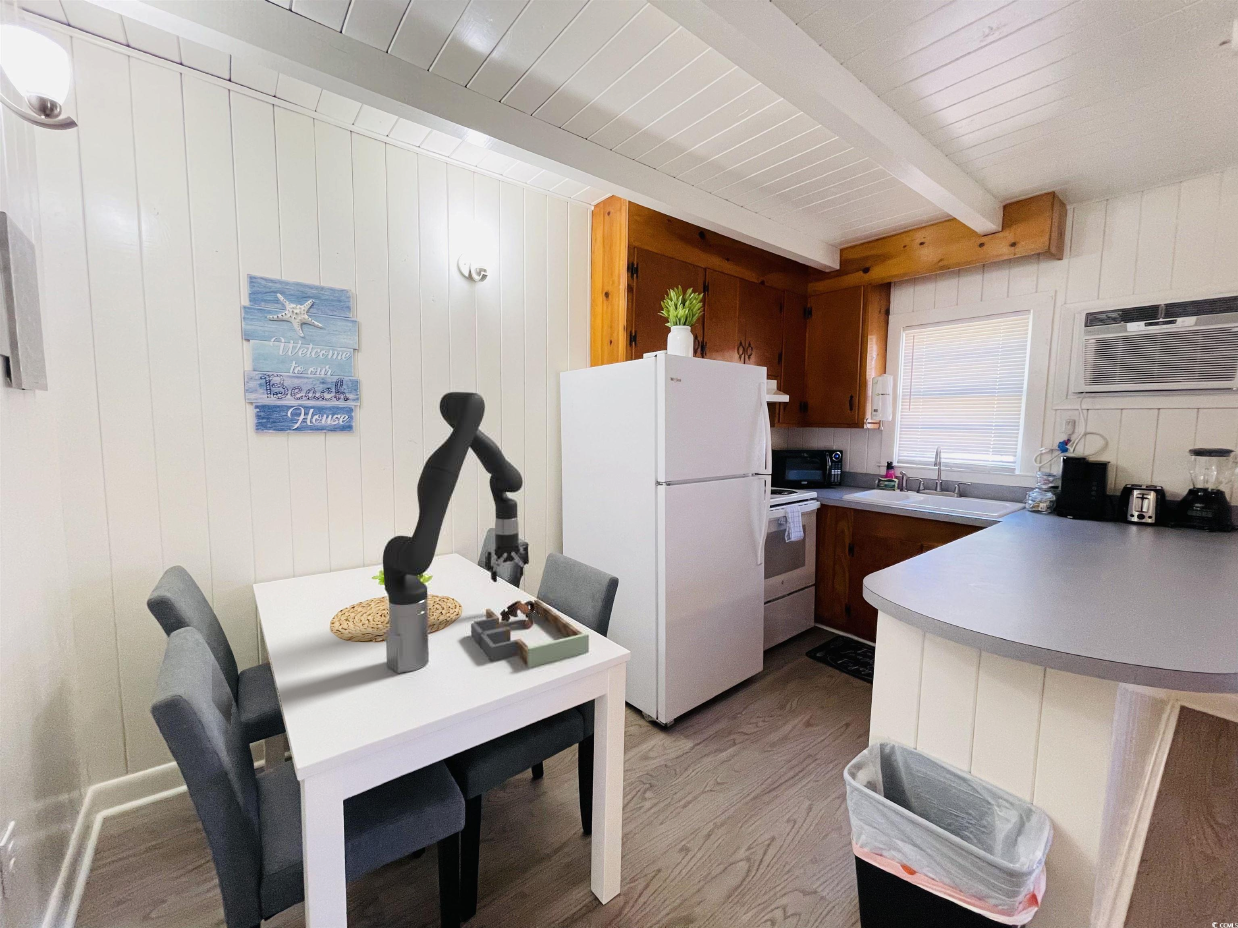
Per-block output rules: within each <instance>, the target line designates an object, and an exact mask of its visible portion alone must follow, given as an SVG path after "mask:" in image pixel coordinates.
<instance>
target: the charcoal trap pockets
mask: <svg viewBox="0 0 1238 928" xmlns="http://www.w3.org/2000/svg"><path fill="white" fill-rule="evenodd" d="M470 627H471V628H470V632H471V634H470V635H471V639H472V640H473V641H474V642H475V643H476V645H477V646H478V647H479V649H481V651H482V652H483V653H484V654H485V657H486V658H488V660H489V661H490V662H491V663H492V662H497V661H501V660H505V659H511V658H513V657H514V658H515V657H518V641H517V640H516V639H513V640H511V641H508V642H506V629H505V628H504V627H505V626H504V627H499V628H498V629H495V618H494V617H493V618H488V619H486V618H485V619H480V620H474V621H473V622H472V623H470Z"/></svg>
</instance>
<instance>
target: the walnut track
mask: <svg viewBox="0 0 1238 928" xmlns="http://www.w3.org/2000/svg"><path fill="white" fill-rule="evenodd" d="M533 602H534V604H535V612H536V613H537V614H538V615H537V614H536V613H535V612H534V613H535V614H536V615H537V616H539V615H540V616H539V617H540V618H541V617H542V618H543V619H544V620H543V619H542V618H541V619H542V620H543V621H544V622H546V623H547V622H548V623H549V624H548V623H547V624H548V625H549V626H550V627H552V628H553V629H554V630H555V631H557V632H558V633H559V634H561V635H562V637H564V638H568V637H572V636H576V635H580V634H584V633H583V632H582V631H581V630H579V629H578V628H577V627H575V626H574V625H572V624H571V623H569V621H567V620H565V619H564V618H563V617H562V616H560V615H559V614H557V613H556V612H555V611H554V610H552V609H551V608H549V607H548V606H547V605H546V604H544V603H543V602H542V601H540V600H539V599H535V600H534V601H533ZM493 617H494V618H495V629H498V628H500V617H499V616H498V615H497V614H496V613H495V612H494V611H493V610H492V609H491V608H486V609H485V619H488V618H493ZM504 628H505V629H506V642H508V641H512V640H511V628H510V627H509V626H504ZM515 640H517V641H518V656H517V657H518V658H519V659H521V661H522V662H523V663H524V665H525V666H527V647H529V645H527V644H526V643H525V642H524V641H523V640H522V639H521V638H518V639H517V638H516V639H515Z"/></svg>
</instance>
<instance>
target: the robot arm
mask: <svg viewBox="0 0 1238 928" xmlns="http://www.w3.org/2000/svg"><path fill="white" fill-rule="evenodd" d="M485 409H486V404H485V400H484V398H483V396H482V395H481V394H479V393H476V392H470V391H469V392H468V391H451V392H447V393H445V394H444V395H443V396H442V397H441V399H440V401H439V412H440V414H441V415H440V416H441V417H442V418H443V420H444V422H446V423H447V425H449V426H450V428H451V429H452V431H451V433H450V435H449V436H448V438H446V440H445V441H444V442H443V443H442V444H441V445H440V446H439V447H438V448H437V449H436V450H435V451H433V453H432V454H431V455H429V457H428V458H427V459H426V462H425V463H424V466H423V467H422V470H421V473H420V476H419V479H418V482H417V485H416V486H417V487H416V488H417V489H416V494H417V503H418V504H417V505H418V520H417V522H416V525H415V529H414V532H413V534H412V535H411V536H409V535H397V536H396V535H395V536H394V537H392V538H390V539H389V540H388V541H387V543H386V545H385V546H384V548H383V553H382V571H383V580H384V581H383V582H384V589H385V592H386V595H387V597H388V627H389V628H388V629H386V631H385V646H386V648H385V649H386V651H385V652H386V667H387V668H389V669H391V670H392V671H394V672H395V673H396V674H401V673H405V672H406V673H407V672H411V671H413V672H414V671H417V670H420V669H422V668H423V667H426V665H428V663H429V661H430V659H429V657H430V651H429V650H430V649H429V610H428V609H429V607H428V606H429V604H428V603H429V602H428V600H429V599H428V598H429V597H428V586H426V584H425V583H424V582H423V581H422V580H421V579H420V578H419V577H418V576H421V575H423V574H424V573H425V572H427V571H428V570H429V569H430V566H431V565H432V563H433V560H434V557H435V554H436V550H437V548H438V547H437V546H438V541H439V538H440V534H441V531H442V526H443V522H444V519H445V517H446V513H447V511H448V507H449V504H450V501H451V498H452V495H453V493H454V490H455V488H456V485H457V483H458V480H459V476H460V473H461V470H462V468H463V465H464V461H465V459H466V457H467V454H468V452H469V449H470V450H472V451H473V453H474V454H475V456H476V457H477V459H478V460H479V462H480V464H481V465H482V467H483V468H484V470H485V471H486V472H487V473H488V474H489V475H490V476H489V477H490V478H489V483H488V484H489V488H490V492H491V495H492V498H493V502H494V505H495V521H494V522H495V523H494V543H495V544H494V545H495V548H494V550H488V549H487V550H485V554H484V555H485V556H484V568H485V569H486V570H487V571H490V579H491V581H493V582H494V583H497V582H498V571H497V569H498V568H499V567H500V566H501V565H502V564H505V563H508V562H509V563H511V562H514V561H515V563H516V564H517V569H516V571H517V577H518V579H522V577H523V576H524V566H526V565H529V563H530V557H529V547H528V546H527V545H521V546H520V544H519V538H520V537H519V521H518V520H519V519H518V502H517V500H515V499H513V498H511V497H509V496H508V494H507V493H517V492H519V491H520V490H521V489H522V487H523V484H524V480H523V477H522V474H521V473H520V471H519V470H518V469H517V468H516V467H515V466H514V465H513V464H512V463H511V462H510V461H509V460H507V458H506V457H505V456H504V453H503V452H502V450H501V449H500V447H499V445H498V444H497V443H496V442H495V441H494V440H493V439H491V438H490V437H489V435H487V434H486V433H484V431H482V430H480V429H479V428H480V426H481V423H482V422H483V419H484V415H485V411H486V410H485ZM519 553H522V560H521V558H520V557H518V555H519ZM494 556H495V558H494ZM493 558H494V560H493V563H492V559H493Z"/></svg>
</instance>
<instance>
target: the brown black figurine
mask: <svg viewBox="0 0 1238 928" xmlns="http://www.w3.org/2000/svg"><path fill="white" fill-rule="evenodd" d="M518 611H520V613H521V614H523V615H525V618H527V620H525V622H524V626H525V629H526V630H529V629H530V628H531V627H532V626H534V624H535V621H534V618H533V614H534V613H535V612H534V611H535V604H534V601H533V600H527V601H526V602H524V603H523V602H521V600H517V601H513V602H512V603H511V604H510V605H508V606H507V607H506V609H505V608H504V609H503V610H501V612H500V613H499V615H500V616H501V619H500V620H501V622H507V623H509V621H510V620H511V619H512V618H518V617H519V615H518ZM511 617H512V618H511Z"/></svg>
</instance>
